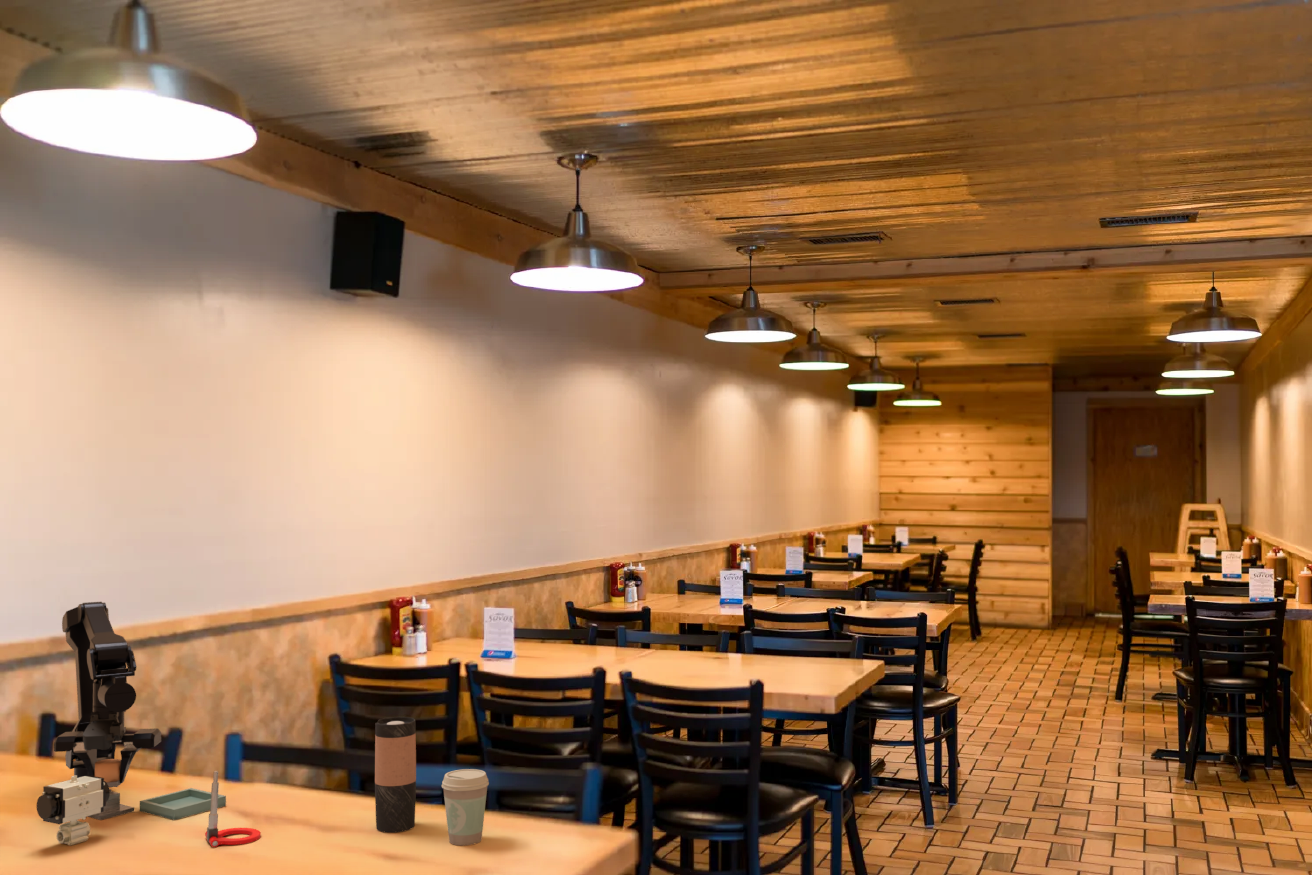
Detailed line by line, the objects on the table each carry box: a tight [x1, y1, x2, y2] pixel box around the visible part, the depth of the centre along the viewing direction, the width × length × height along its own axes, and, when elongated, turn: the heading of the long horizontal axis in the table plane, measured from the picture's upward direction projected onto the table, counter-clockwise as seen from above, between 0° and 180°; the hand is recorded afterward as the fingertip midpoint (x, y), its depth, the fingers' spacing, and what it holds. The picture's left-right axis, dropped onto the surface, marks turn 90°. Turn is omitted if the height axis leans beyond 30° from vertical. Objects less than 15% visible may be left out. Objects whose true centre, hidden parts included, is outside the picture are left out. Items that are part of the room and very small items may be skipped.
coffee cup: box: [441, 768, 490, 846], centre depth 209 cm, size 8×9×12 cm
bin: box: [139, 787, 227, 821], centre depth 231 cm, size 12×12×2 cm
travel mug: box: [374, 716, 417, 834], centre depth 218 cm, size 8×8×20 cm
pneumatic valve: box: [36, 775, 110, 847], centre depth 210 cm, size 6×12×12 cm, turn 152°
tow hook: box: [204, 770, 261, 848], centre depth 211 cm, size 8×13×9 cm
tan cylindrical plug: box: [95, 758, 122, 789], centre depth 229 cm, size 5×5×4 cm
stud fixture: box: [87, 790, 135, 821], centre depth 228 cm, size 7×7×4 cm
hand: (107, 783), depth 229 cm, fingers closed on tan cylindrical plug, 5 cm apart
